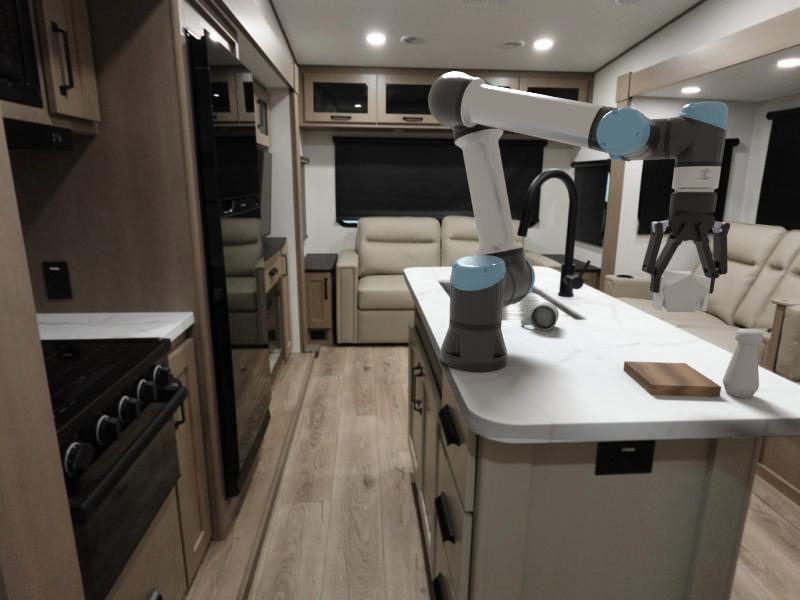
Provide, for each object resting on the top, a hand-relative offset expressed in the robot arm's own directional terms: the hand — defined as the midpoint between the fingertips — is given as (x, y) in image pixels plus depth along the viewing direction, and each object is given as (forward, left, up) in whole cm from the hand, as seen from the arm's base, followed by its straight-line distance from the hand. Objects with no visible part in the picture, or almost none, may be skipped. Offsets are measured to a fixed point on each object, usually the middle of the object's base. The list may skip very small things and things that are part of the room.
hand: (678, 309), depth 96 cm
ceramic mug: (-17, +40, -16) cm, 46 cm away
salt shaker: (+11, -5, -16) cm, 20 cm away
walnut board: (0, 0, -16) cm, 16 cm away
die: (0, 0, 0) cm, 1 cm away
